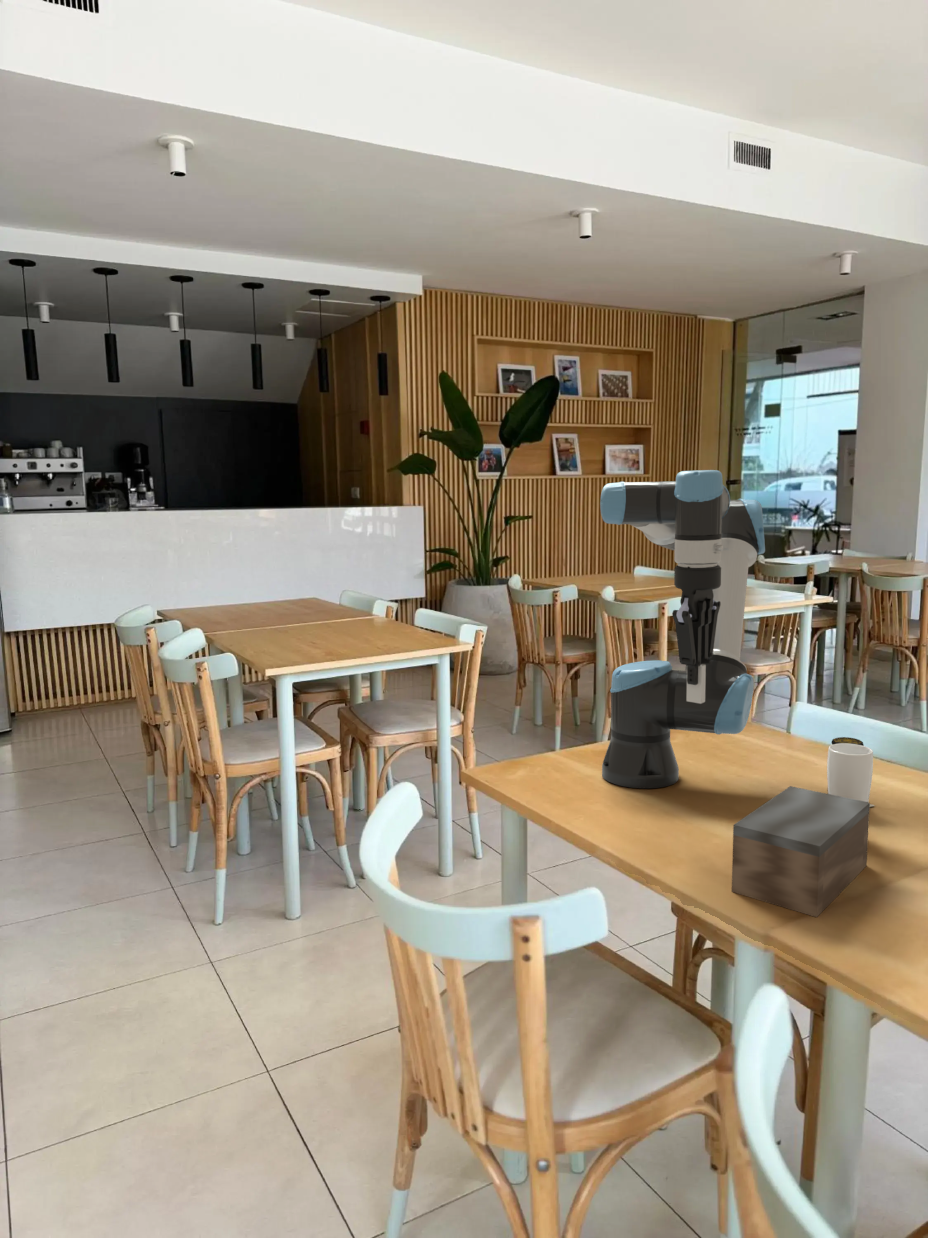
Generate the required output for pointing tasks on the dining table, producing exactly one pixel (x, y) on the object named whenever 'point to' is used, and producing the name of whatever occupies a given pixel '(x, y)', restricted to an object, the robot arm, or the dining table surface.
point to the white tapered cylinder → (850, 771)
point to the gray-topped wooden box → (800, 849)
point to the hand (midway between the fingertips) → (695, 701)
